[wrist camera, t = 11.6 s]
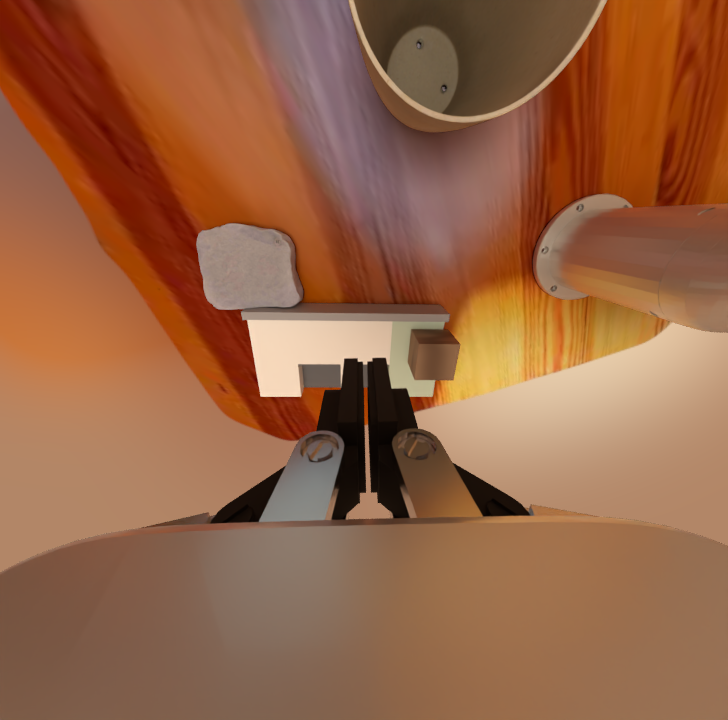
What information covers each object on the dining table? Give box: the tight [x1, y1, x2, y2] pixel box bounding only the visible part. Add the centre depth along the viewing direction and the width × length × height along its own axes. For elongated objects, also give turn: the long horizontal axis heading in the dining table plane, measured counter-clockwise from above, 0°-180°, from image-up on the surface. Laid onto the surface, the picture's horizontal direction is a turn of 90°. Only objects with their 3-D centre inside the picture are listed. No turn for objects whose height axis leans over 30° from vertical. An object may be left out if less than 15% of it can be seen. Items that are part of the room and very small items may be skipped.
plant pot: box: [348, 0, 607, 132], centre depth 21 cm, size 15×15×16 cm
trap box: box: [241, 303, 450, 397], centre depth 40 cm, size 26×14×4 cm, turn 89°
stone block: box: [197, 223, 304, 310], centre depth 35 cm, size 12×5×10 cm
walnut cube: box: [408, 329, 460, 380], centre depth 36 cm, size 5×5×5 cm
